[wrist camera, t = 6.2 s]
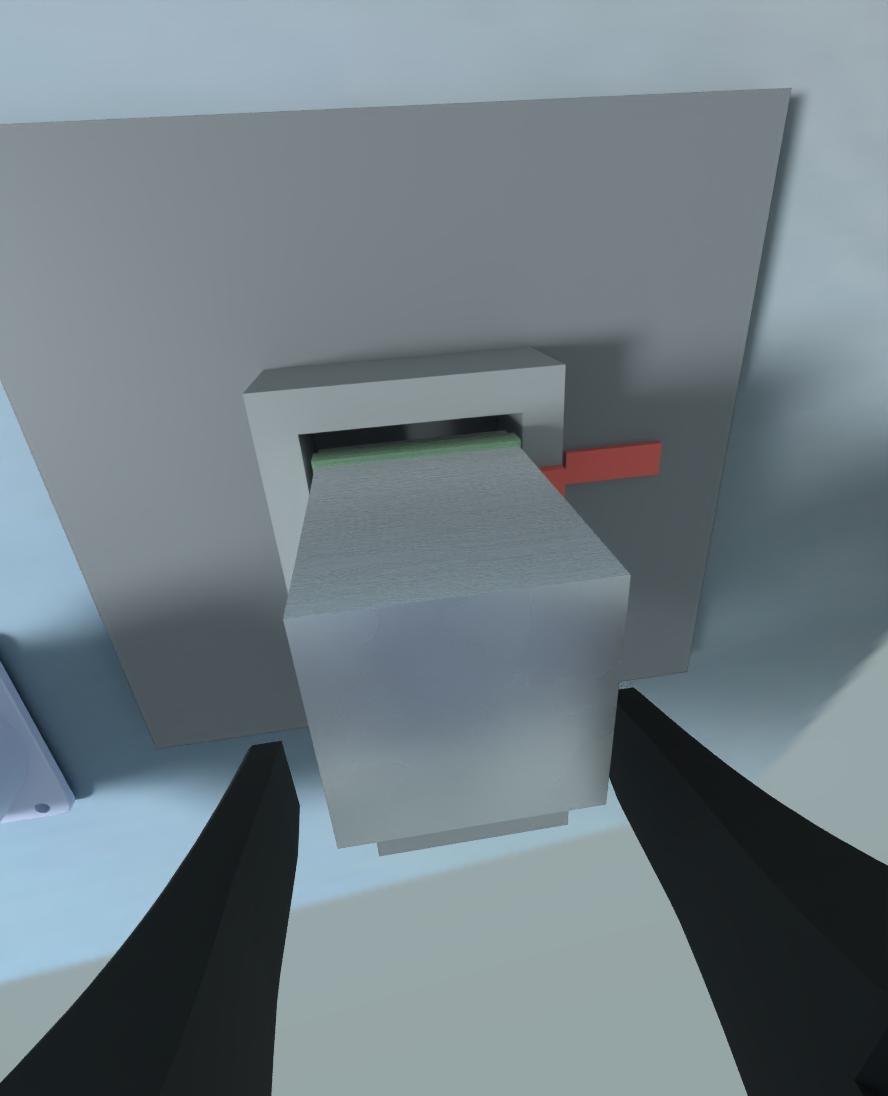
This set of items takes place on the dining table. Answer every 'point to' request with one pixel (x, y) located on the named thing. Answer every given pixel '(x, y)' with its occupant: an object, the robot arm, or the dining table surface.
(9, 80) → the dining table surface
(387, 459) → the white rectangular block
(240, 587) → the jack base
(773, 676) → the dining table surface
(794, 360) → the dining table surface
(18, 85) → the dining table surface
